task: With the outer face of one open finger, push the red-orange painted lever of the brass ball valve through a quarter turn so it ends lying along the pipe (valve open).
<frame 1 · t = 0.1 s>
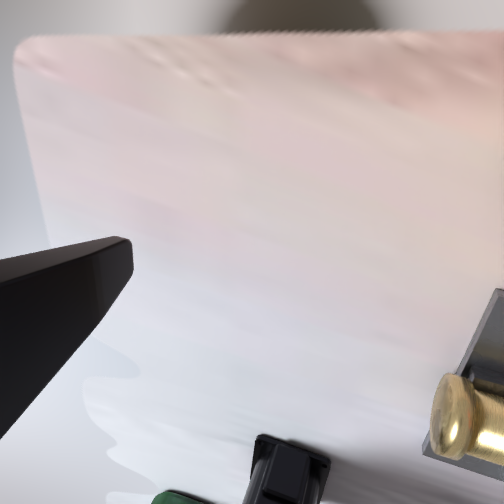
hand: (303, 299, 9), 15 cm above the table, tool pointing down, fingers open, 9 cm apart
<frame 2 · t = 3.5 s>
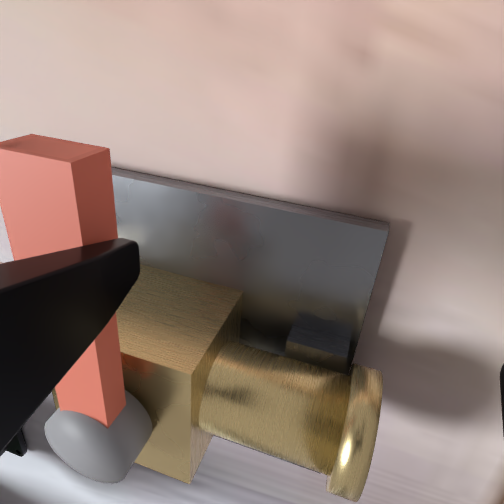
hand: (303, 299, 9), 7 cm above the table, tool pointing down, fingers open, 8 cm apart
valve body: (187, 317, 20), on the table
lever: (84, 339, 12), point 7 cm above the table, hinge at 0.1°, touching gripper
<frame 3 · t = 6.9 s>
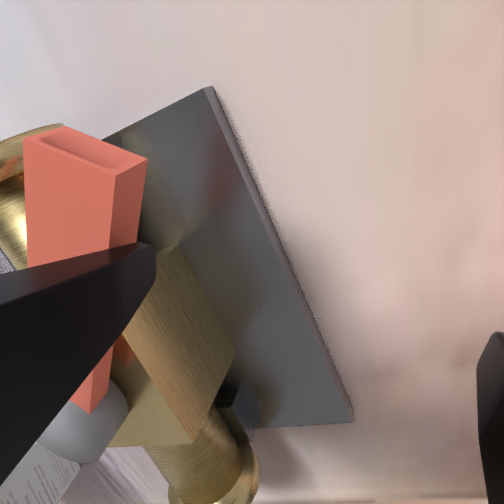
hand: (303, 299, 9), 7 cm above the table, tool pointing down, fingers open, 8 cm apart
skincare box: (33, 430, 30), on the table
valve body: (165, 303, 20), on the table
lever: (80, 330, 12), point 7 cm above the table, hinge at 49.0°, touching gripper
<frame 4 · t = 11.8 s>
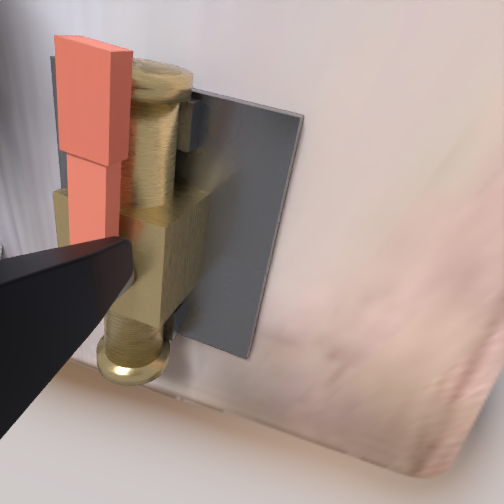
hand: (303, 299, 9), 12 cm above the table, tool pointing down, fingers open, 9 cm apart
valve body: (166, 219, 25), on the table
lever: (95, 194, 17), point 7 cm above the table, hinge at 87.5°
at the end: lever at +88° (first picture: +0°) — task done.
